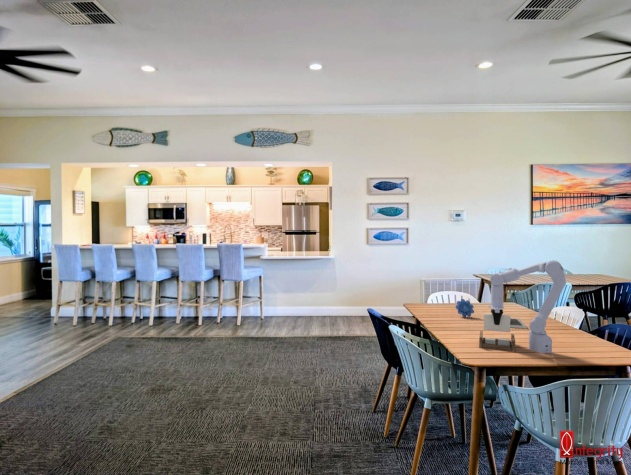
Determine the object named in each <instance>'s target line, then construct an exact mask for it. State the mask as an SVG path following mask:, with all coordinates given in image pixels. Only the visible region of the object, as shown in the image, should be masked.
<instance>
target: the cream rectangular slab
mask: <svg viewBox="0 0 631 475" xmlns="http://www.w3.org/2000/svg"><path fill="white" fill-rule="evenodd" d="M510 318H511V315H506V314H502V316H501V319H500V324H499V325H495V324H494V319H493V315H492V313H483V330H484V331H493V332H504V333H511V328H510Z"/></svg>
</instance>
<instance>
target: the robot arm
mask: <svg viewBox="0 0 631 475" xmlns="http://www.w3.org/2000/svg"><path fill="white" fill-rule="evenodd" d="M537 272H539V273H546V274H547V275H548V276H549V277H550V279H551V281H552V282H553V284H552V286H551V288H550V290H549V291H548V294H547V295H546V297H545V299H544V301H543V303H542V305H541V307H540V309H539V310H538V312H537V314H536V316H535V317H533V318H532V319H531V322H529V332H528V349H529V350H531V351H533V352H536V353H540V354H552V355H553V354H554V351H553V339H552V337H551V336H549V335H548V334H547V331H546V329H545V328H546V326H547V320H548V318H549V316H550V314H551V313H552V311H553V309H554V307H555V305H556V303H557V301H558V299H559V297H560V296H561V294H562V292H563V290H564V288H565V286H566V283H567V281H566V275H565V270H564V267H563V266H562V264H561V263H560V261H557V260H554V259H553V260H550V261H544V262H537V263H535V264H532V265H529V266H526V267H523V268H520V269H517V268H515V267H514V268H512V267H510V268H508V270H504V271H499V272H498V273H494V274H492V275H491V276H490V277H489V278H490V279H489V282H490V284H491V285H490V286H491V288H490V305H489V304H488V308H491V309H490V314H492V315H493V319H494V324H495V325H499V324H500V319H501V316H502V315H504V310H503V309H504V308H505V307H504V284H508V283H511V282H514V281H518V280H520V278H521V277H522V276H525V275H529V274H533V273H537Z"/></svg>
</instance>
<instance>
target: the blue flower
mask: <svg viewBox="0 0 631 475" xmlns="http://www.w3.org/2000/svg"><path fill="white" fill-rule="evenodd" d="M474 306H475V305H473V304H472V303H471V301H470V300H465V299H463V298H462V299H460V300H457V301H456V305H455V309H456V310H457V314H459V315H461V316H462V318H466V317H469V318H470V317H471V316H472V314H474V313H475V311H474V310H475V309H474Z"/></svg>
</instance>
